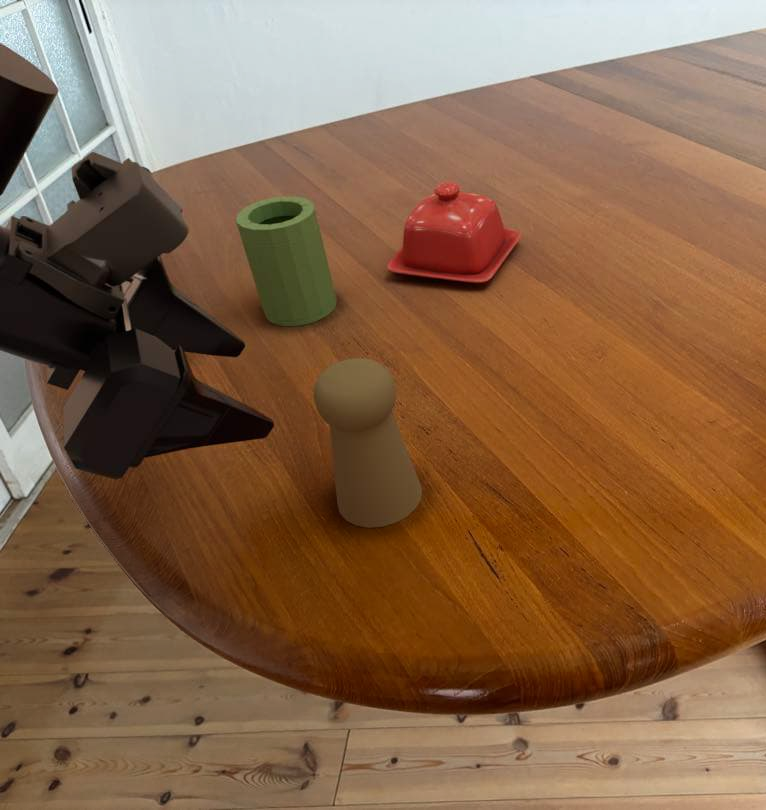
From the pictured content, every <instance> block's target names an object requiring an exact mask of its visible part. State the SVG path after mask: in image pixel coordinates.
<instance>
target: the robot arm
mask: <svg viewBox="0 0 766 810" xmlns="http://www.w3.org/2000/svg"><path fill="white" fill-rule="evenodd" d="M58 94H59V87H58V86H57V84H56V83H55V82H54V81H53V80H52V79H51V78H50V77H49V76H48V75H47V74H46V73H45V72H44V71H42V69H40V68H39V67H38V66H36V65H34V64H33V63H32V62H31V61H29V60H28V59H27V58H25V57H24V56H22V55H20V54H19V53H18V52H17V51H14V50H13V49H11V48H10V47H8V46H6V45H5V44H3V43H1V42H0V197H1V196H2V195H3V194H4V192H5V191H6V189H7V187H8V186H9V184H10V182H11V180H12V178H13V176H14V174H15V172H16V171H17V168H18V167H19V165H20V163H21V162H22V160H23V158H24V156H25V153H26V152H27V150H28V148H29V146H30V145H31V143H32V141H33V139H34V138H35V136H36V134H37V133H38V130H39V128H40V127H41V126H42V123H43V122H44V119H45V118H46V115H47V114H48V112H49V110H50V108H51V107H52V104H53V103H54V101H55V99H56V97H57V95H58ZM71 180H72V182H73V185H74V187H75V190H76V193H77V196H78V198H79V199H78V200H77V201H75V200H70V201H69V202H68V203H67V204H66V211H65V212H64V213H63V214H61V215H60V216H59V217H58V218H57V219H56V220H54V221H53V222H52V223H51V224H45V223H43V222H41V221H38V220H36V219H33V218H32V217H29V216H27V215H21V216H20V217H19V218H18V217H16V216H14V215H11V216H10V218H9V220H8V222H7V224H6V226H3V225H0V351H1V352H4V353H6V354H10V355H12V356H15V357H19V358H20V359H21V358H22V359H24V360H27V361H30V362H32V363H36V364H38V365H42V366H45V367H46V384H48V385H51V386H54V387H57V388H61V389H63V390H67V391H69V389H70V387H71V385H72V384H73V382H74V381H75V379H76V377H78V376H77V375H78V374H79V372H80V371H83V374H82V375H81V377H80V378H79V381H78V382H77V384H76V385H75V387H74V389H73V390H72V392H71V394H70V395H69V397H68V399H67V401H66V402H65V404H64V405H63V407H62V423H63V425H62V427H63V449H64V450H65V452H66V454H67V456H68V458H69V460H70V461H71V463H72V465H73V467H74V469H75V470H79V471H82V472H87V473H89V474H93V475H96V476H100V477H105V478H108V479H109V478H110V479H113V480H116V481H117V480H119V479H123V478H124V476H125V474H126V473H127V471H128V470H129V468H135V469H136V468H138V467H139V466H141V464H142V462H144V459H147V458H152V457H156V456H161V455H166V454H170V453H171V454H172V453H175V452H179V451H185V450H190V449H195V448H203V447H210V446H217V445H225V444H231V443H232V444H233V443H240V442H247V441H254V440H255V441H256V440H263V439H266V438H268V436H269V435H270V433H271V432H272V430H273V429H274V428H275V422H274V420H273V419H272V418H270V417H268V416H267V415H265V414H264V413H262V412H260V411H258V410H257V409H255V408H253V407H252V406H249V405H248V404H246V403H243V402H241V401H240V400H237V399H236V398H233V397H232V396H230V395H228V394H226V393H224V392H222V391H220V390H218V389H217V388H214V387H212V386H211V385H209V384H206V383H204V382H203V381H200V380H199V379H197V378H196V377H195V375H194V373H193V371H192V368H191V366H190V363H189V361H188V358H187V356H186V354H185V353H191V354H198V355H206V356H215V357H227V358H238V357H240V356H241V354H242V353H243V351H244V349H245V348H246V344H245V341H244V339H242V338H240V337H239V336H238V335H237V334H236V333H234V332H233V331H232V330H230V329H229V328H228V327H227V326H226V325H224V324H223V323H222V322H220V321H219V320H217V319H216V318H215V317H213V315H212V314H210V313H208V312H207V311H206V310H205V309H204V308H202V307H201V306H199V305H198V304H197V303H196V302H194V300H192V299H191V298H189V297H188V296H187V295H186V294H184V293H183V292H182V291H181V290H179V288H177V287H176V286H175V285H174V284H173V283H172V282H171V280H170V278H169V276H168V273H167V270H166V268H165V265H164V262H163V259H162V256H161V255H162V254H171V253H172V252H173V251H174V250H176V249H177V248H178V247H180V245H181V244H182V243H183V242H184V241H185V240H186V238H187V237H188V236H189V235H188V234H189V231H190V229H189V226H188V224H187V223H186V221H185V219H184V217H183V208H182V207H181V206H180V204H179V203H178V202H177V201H176V200H174V198H173V197H172V196H171V195H169V193H168V192H167V191H166V190H165V189H164V188H163V187H162V186H161V185H160V184H159V183H158V182H157V181H156V180H155V179H154V177H153V174H152V171H151V170H150V169H149V168H147V167H145V166H141V164H139V162H137V161H132V159H131V158H129V157H127V158H126V159H125V160H123V161H122V162H120V161H118V160H115V159H112V158H110V157H108V156H105V155H102V154H100V153H97V152H94V151H91V152H90V153H88V154H87V155H86V156H85V157H83V158H82V159H81V160H79V161H78V162H77V163H75V164H74V165H72V167H71Z"/></svg>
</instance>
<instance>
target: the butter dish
mask: <svg viewBox="0 0 766 810" xmlns="http://www.w3.org/2000/svg"><path fill="white" fill-rule="evenodd" d="M499 210H500V209H499V207H498V205H497V203H496V202H495V201H494V200H493V199H491V198H490V197H486V196H485V195H481V194H476V193H472V192H466V191H460V186H459V184H458V183H456V182H453V181H445V182H441V183H439V184H438V185H436V186H435V188H434V193H432V194H430V195H428V196H426V198H424V199H423V200H421V201H420V202H419V203H418V204H417V205H416V206H415V207H414V208H413V209H412V211H411V212H410V213H409V215H408V217H407V219H406V221H405V223H404V227H403V236H402V237H403V238H402V246H401V248H400V249H399V250H398V251H397V252H396V253H395V255H393V257H392V258H391V259H390V261H389V262H388V264H387V266H386V271H388V272H390V273H393V274H398V275H408V276H414V277H422V278H429V279H436V280H437V279H438V280H446V281H453V282H462V283H463V282H464V283H472V284H473V283H474V284H482V283H486V282H488V281H490V280H491V279H492V278H493V277H494V275H495V274H496V273H497V271H498V270H499V268H500V267H501V266H502V264H503V263H504V261H505V260H506V259H507V257H508V256H509V255H510V253H511V252H512V250H513V249H514V248H515V246H517V244H518V243H519V241H520V240H521V238H522V233H521V232H520V231H517V230H515V229H510V228H506V227H504V222H503V220H502V219H503V218H502V216H501V213H500V211H499Z"/></svg>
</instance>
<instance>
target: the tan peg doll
mask: <svg viewBox="0 0 766 810" xmlns="http://www.w3.org/2000/svg"><path fill="white" fill-rule="evenodd" d="M316 379H317V380H316V381H315V385H314V388H313V401H314V405H315V407H316V411H317V413H318V415H319V416H320V417H321V419H322V420H323V421H324V422H325V423H326V424H327V425H329V434H330V435H329V436H330V444H331V454H332V464H333V473H334V485H335V494H336V502H337V503H336V504H337V508H338V513H339V515H341V516H342V518H343V519H344V520H345V521H346V522H348V523H350V524H353V525H354V526H357V527H360V528H361V527H362V528H368V529H371V528H372V529H373V528H384V527H386V526H390V525H393V524H396V523H398V522H400V521H402V520H403V519H405V518H407V517H408V516H409V515H410V514H412V512H414V511H415V510H416V509H417V507H418V505H419V504H420V502H421V501H422V496H423V487H422V485H421V482H420V479H419V477H418V476H419V475H417V471H416V469H415V466H414V464H413V461H412V458H411V456H410V453H409V451H408V448H407V445H406V443H405V440H404V438H403V435H402V433H401V429H400V427H399V425H398V422H397V419H396V417H395V414H394V412H393V410H394V409H395V406H396V400H397V399H396V398H397V387H396V383H395V381H394V378H393V375H392V374H391V371H389V370H388V369H387V368H386V367H385V366H384V365H382V364H381V363H380V362H379V361H376V360H374V359H372V358H363V357H361V358H360V357H357V358H349V359H343V360H340V361H338V362H336V363H333V364H331V365H330V366H328V367H326V369H324V370H323V371H322V372H321V373H320V375H319V376H318V377H317V378H316Z"/></svg>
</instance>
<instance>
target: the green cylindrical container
mask: <svg viewBox="0 0 766 810" xmlns="http://www.w3.org/2000/svg"><path fill="white" fill-rule="evenodd" d="M235 221H236V222H235V223H236V226H237V229H238V233H239V236H240V239H241V242H242V246H243V249H244V252H245V256H246V259H247V262H248V266H249V268H250V272H251V275H252V278H253V282H254V285H255V288H256V292H257V295H258V298H259V302H260V304H261V305H260V306H261V308H262V311H263V313H264V316H265V318H266V319H267V320H268V321H269V322H270V323H272V324H274V325H277V326H279V327H280V326H281V327H300V326H305V325H309V324H312V323H316V322H318V321H320V320H322V319H325V318H326V317H328V316H329V315H330V314H331V313H332V312H333V311H334V310H335V308H336V306H337V303H338V301H337V296H336V291H335V287H334V283H333V279H332V274H331V271H330V267H329V262H328V258H327V254H326V249H325V244H324V241H323V237H322V232H321V228H320V224H319V220H318V216H317V212H316V207H315V204H314V202H312V201H311V200H309V199H308V198H306V197H299V196H276V197H269V198H266V199H263V200H260V201H257V202H254V203H251V204H249V205H247V206H246V207H244V208H242V210H241V211H239V213H238V214H237V215H236V220H235Z"/></svg>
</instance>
